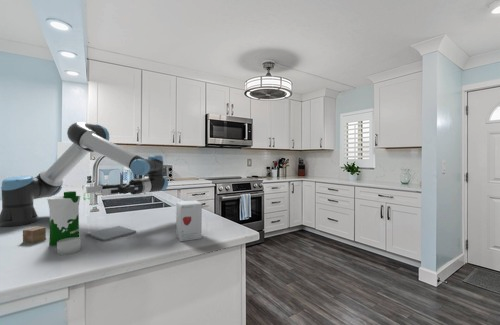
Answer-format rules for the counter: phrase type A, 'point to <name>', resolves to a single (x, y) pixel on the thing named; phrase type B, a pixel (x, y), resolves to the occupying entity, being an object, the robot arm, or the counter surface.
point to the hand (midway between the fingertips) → (94, 191)
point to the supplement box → (188, 220)
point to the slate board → (111, 233)
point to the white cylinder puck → (68, 246)
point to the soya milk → (64, 217)
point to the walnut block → (34, 234)
